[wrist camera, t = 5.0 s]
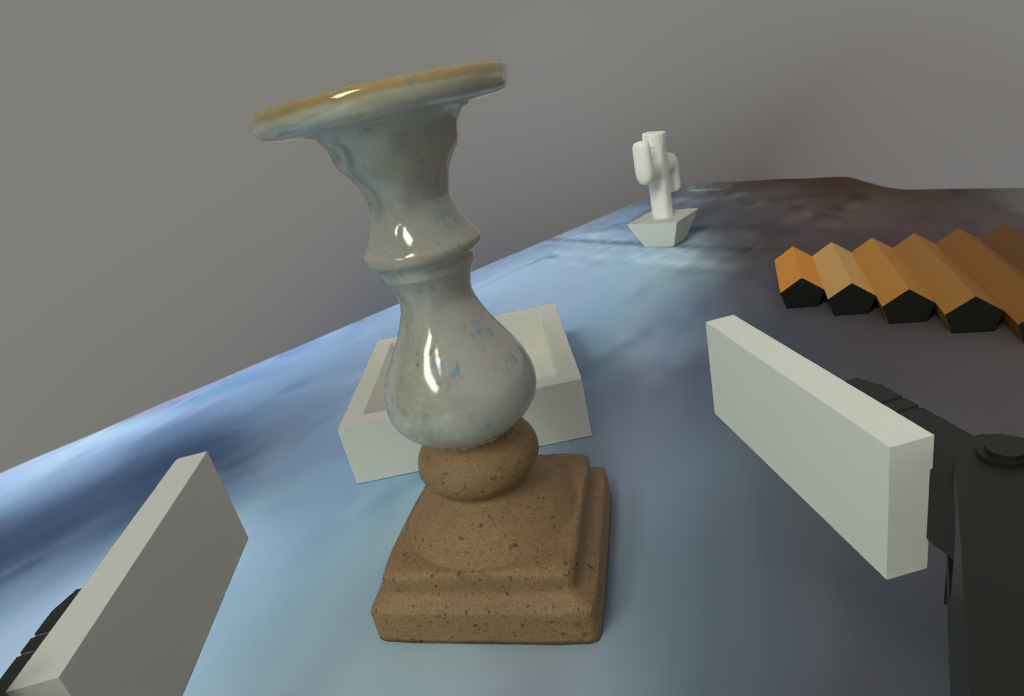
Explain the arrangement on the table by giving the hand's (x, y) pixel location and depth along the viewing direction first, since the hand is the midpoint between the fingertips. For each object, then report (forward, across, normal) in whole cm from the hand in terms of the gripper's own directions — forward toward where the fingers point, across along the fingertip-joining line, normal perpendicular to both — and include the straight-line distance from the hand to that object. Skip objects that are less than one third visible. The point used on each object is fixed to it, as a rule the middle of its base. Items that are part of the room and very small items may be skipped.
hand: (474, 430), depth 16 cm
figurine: (+67, +30, -15) cm, 75 cm away
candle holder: (+12, -1, -15) cm, 19 cm away
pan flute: (+27, +38, -16) cm, 50 cm away
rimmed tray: (+32, -1, -15) cm, 35 cm away
